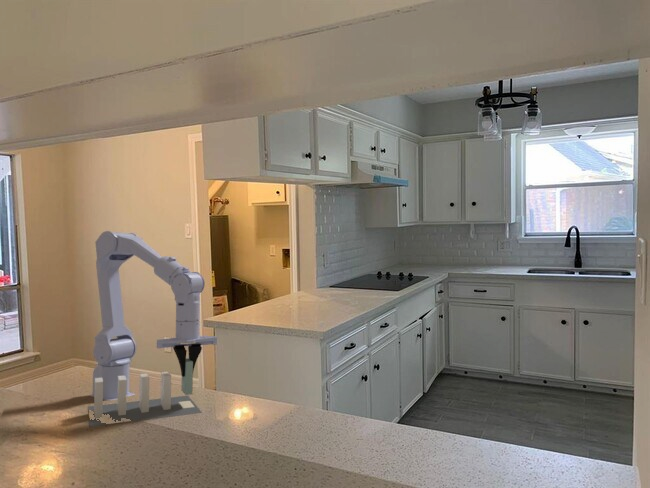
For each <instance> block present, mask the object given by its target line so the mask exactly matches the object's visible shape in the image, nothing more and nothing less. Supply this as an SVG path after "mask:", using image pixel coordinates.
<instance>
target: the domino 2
mask: <svg viewBox="0 0 650 488" xmlns="http://www.w3.org/2000/svg"><path fill="white" fill-rule="evenodd" d="M126 390H127V379H126V377H125V375H124V376H118V391H117V399H116V401H117V402H116V404H117V411H118V415H126V402H127V397H126Z"/></svg>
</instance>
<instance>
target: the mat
mask: <svg viewBox="0 0 650 488" xmlns="http://www.w3.org/2000/svg"><path fill="white" fill-rule="evenodd" d="M88 410H91V411H93V412H94V405H92V406H91V405H90V406H87V411H88ZM202 413H203V412H202V411H201V410H200V408H199V407H198V405H196V403H195V402H194V401H193V400H192V398H191V397H190V395H181V396H171V409H168V410H163V408H162V406H161V398H155V399H154V398H152V399H149V412H144V413H141V410H140V408H139V400H135V401H126V415H118V411H117V403H109V404H103V411H102V414H104V415H105V414H106V415H107V414H109V415H110V418H111V417H112V420H113V419H115V420H114V421H115V422H116V420H118V421H121V418H126V419H130V420H131V421H134V422H140V421H141V422H142V421H146V420H148V421H149V420H156V419H163V418H164V419H165V418H172V417H180V416H186V415H193V414H194V415H195V414H202ZM93 415H94V414H93ZM97 420H99V419H97ZM97 420H96V418H95V419H94V420H92V419H91V420H89V419H88V428H94V427H102V426H109V425H108V424H106V423H101V421H100V420H99V421H97ZM114 425H117V424H116V423H115V424H114Z"/></svg>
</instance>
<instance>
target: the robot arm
mask: <svg viewBox="0 0 650 488" xmlns="http://www.w3.org/2000/svg"><path fill="white" fill-rule="evenodd" d="M94 244H95V252H96V261H95V262H96V263H95V264H96V265H95V267H96V277H97V286H98V294H99V297H98V298H99V305H100V315H101V325H102V329H101V330H100V331H98V333H97V334H96V335H95V336H94V347H93V358H94V359H95V361H96V362H97V364H96V366H95V367H94V369H93V371H92V393H91V394H89V396H90V397H93V398H94V393H95V378H102V379H103V400H106V401H111V402H112V401H115V400H117V391H118V376H124V375H125V377H126V379H127V390H126V398H127V397H131V396H134V395H136V393H135V392H130V363H131V362H132V358H134V357H135V355H136V353H137V343H136V340H135V339H134V337H133V332H132V330H131V329H130V328H128V327H127V326H126V324H125V318H124V316H125V315H124V309H123V307H124V305H123V299H122V289H121V280H120V271H119V269H120V267H121V266H122V265H123V264H124V263H125V262H127V261H128V260H129V259H131V258H132V257H134V256H135V257H137V258H139V259H140V260H141V261H143V262H145V264H148V265H149V266H151V267H152V268H153V273H154V275H155V276H157V277H158V278H160V279H161V280H162V281H163V282H165V283H166V284H168V285H169V286H170V288H171V291H172V293H173V295H174V301H175V337H171V338H163V339H162V338H160V339H156V349H163V348H164V349H166V348H172V349H173V351H174V353H175V355H176V358H177V361H178V363H179V367H180V373H181V377H182V376H183V377H184V376H185V362H186V358H187V351H188V358H189V359H190V360H191V361H193V372H194V370H195V366H196V363H197V361H198V358H199V356H200V354H201V352H202V349H203V347H202V346H207V345H214V346H215V345H218V336H216V335H211V336H207V335H206V336H202V335H201V336H200V319H201V318H200V315H201V314H200V309H201V308H200V305H201V304H200V303H201V299H200V298H201V297H200V295H201V293H203V291H204V289H205V279H204V277H203V276H202V274H200V272H197V271H192V272H191V271H190V270H189V269H190V268H189V267H187V266H184V265H183V264H180V263H179V262H178V261H177V258H176V257H175V256H168V255H167V256H161V254H159V253H158V252H157V251H156V250H155V249H153V248H152V247H151V246H150V245H148V244H147V243H146V242H145V241H144V240H143V238H142V237H141V236H139V235H137V234H136V233H133V232H117V231H116V232H114V231H110V230H106V231H103V232H102V233H100V235H99V236H98V238H97V239H96V240H95V243H94ZM186 347H188V348H187V349H186Z"/></svg>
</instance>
